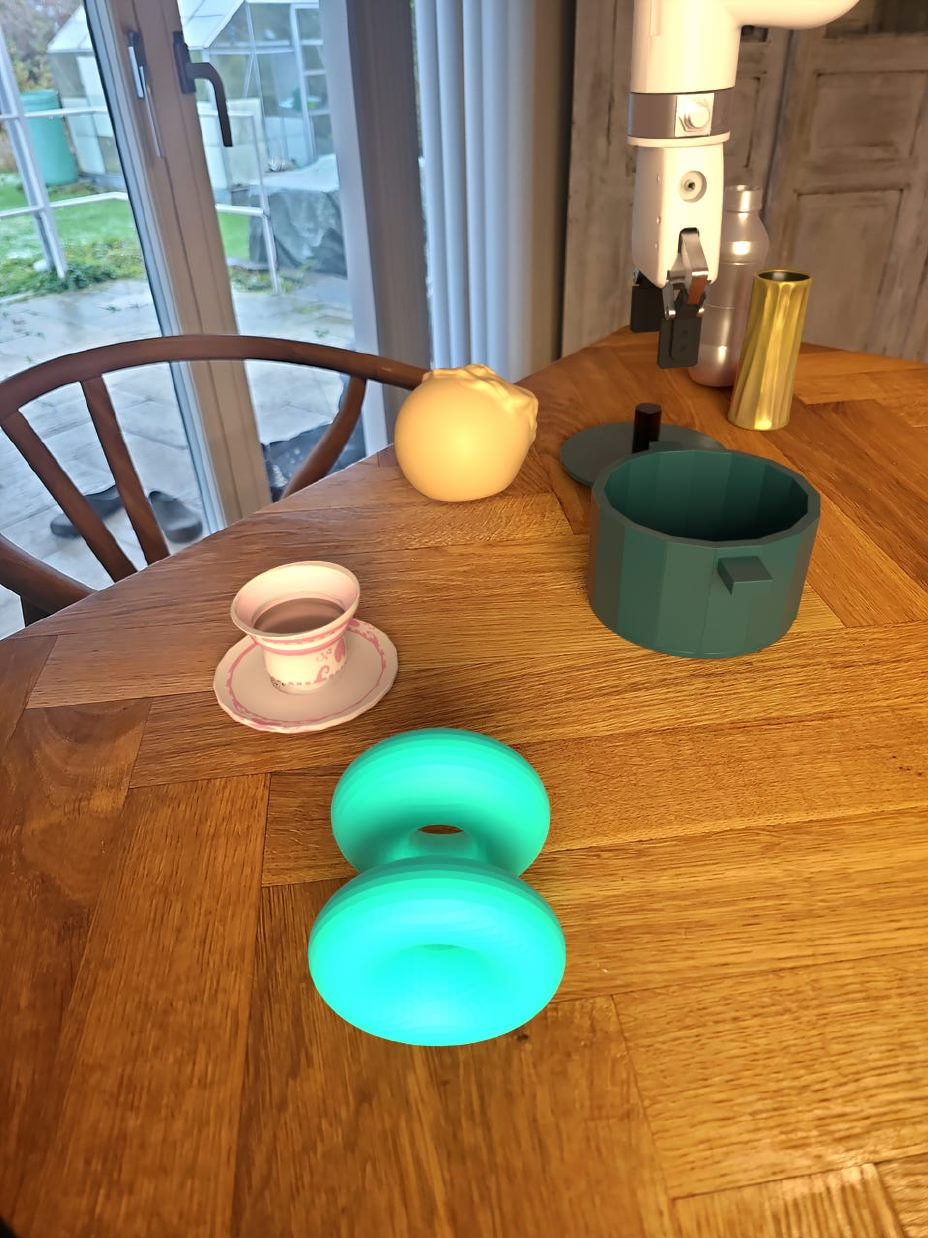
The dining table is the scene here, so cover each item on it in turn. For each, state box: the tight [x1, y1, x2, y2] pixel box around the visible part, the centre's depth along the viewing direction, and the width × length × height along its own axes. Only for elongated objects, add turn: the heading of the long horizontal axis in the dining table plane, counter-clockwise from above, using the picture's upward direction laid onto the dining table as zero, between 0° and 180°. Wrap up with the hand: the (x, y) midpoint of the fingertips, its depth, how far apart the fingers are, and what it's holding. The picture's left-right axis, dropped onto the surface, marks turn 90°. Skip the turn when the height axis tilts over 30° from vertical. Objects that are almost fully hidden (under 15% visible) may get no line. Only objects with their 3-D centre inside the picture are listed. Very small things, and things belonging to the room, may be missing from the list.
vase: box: [726, 267, 813, 432], centre depth 83 cm, size 6×6×14 cm
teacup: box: [212, 560, 399, 734], centre depth 54 cm, size 12×12×6 cm
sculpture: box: [393, 363, 539, 503], centre depth 74 cm, size 11×12×11 cm
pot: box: [585, 440, 822, 660], centre depth 59 cm, size 15×20×8 cm
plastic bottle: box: [687, 184, 770, 388], centre depth 90 cm, size 6×7×20 cm
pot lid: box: [559, 402, 727, 489], centre depth 78 cm, size 16×16×6 cm
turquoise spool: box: [307, 727, 567, 1047], centre depth 36 cm, size 10×10×10 cm
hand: (661, 347), depth 73 cm, fingers open, 9 cm apart
